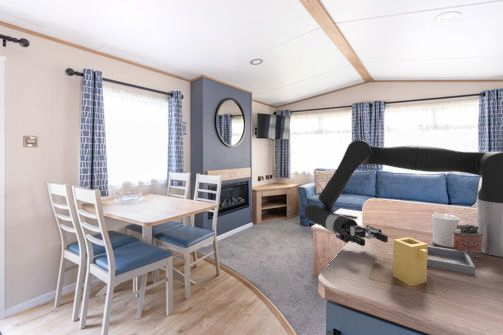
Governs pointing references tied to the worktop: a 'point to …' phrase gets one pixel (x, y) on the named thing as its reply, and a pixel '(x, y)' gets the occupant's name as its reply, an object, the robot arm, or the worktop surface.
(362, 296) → the worktop surface
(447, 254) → the tray
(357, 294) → the worktop surface
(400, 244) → the yellow open box
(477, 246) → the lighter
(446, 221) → the white cup
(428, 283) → the board
